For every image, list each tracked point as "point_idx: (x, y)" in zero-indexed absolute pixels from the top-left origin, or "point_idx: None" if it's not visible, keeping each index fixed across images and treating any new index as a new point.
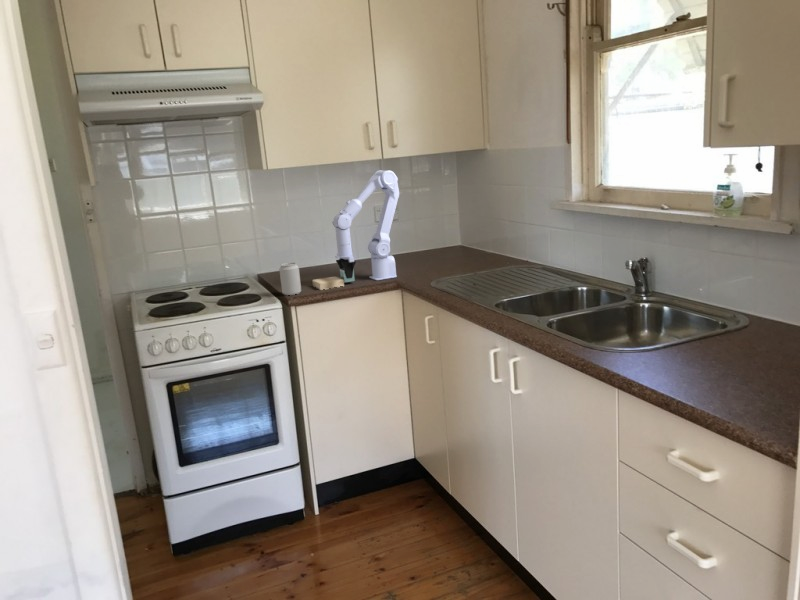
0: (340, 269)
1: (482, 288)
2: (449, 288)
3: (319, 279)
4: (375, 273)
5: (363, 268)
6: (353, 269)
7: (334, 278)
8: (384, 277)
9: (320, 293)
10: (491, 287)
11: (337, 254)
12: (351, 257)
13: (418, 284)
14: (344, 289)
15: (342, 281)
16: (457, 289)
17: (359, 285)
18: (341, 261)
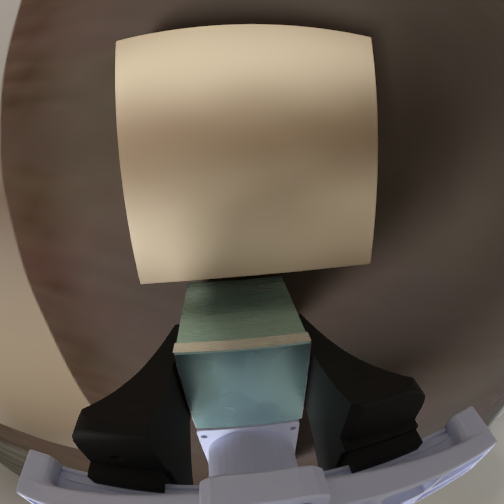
0: (275, 344)
1: (12, 465)
2: (13, 451)
3: (344, 90)
4: (228, 455)
5: (466, 391)
6: (196, 422)
7: (280, 230)
8: (208, 453)
9: (39, 57)
10: (18, 472)
11: (481, 439)
12: (32, 501)
13: (64, 455)
14: (51, 233)
15: (140, 267)
16: (5, 450)
17: (123, 344)
18: (336, 431)
